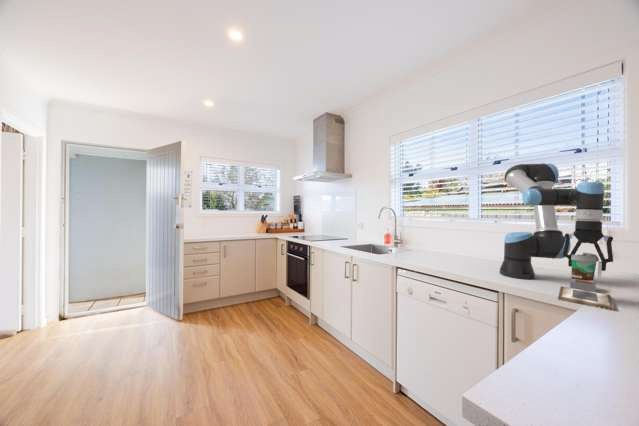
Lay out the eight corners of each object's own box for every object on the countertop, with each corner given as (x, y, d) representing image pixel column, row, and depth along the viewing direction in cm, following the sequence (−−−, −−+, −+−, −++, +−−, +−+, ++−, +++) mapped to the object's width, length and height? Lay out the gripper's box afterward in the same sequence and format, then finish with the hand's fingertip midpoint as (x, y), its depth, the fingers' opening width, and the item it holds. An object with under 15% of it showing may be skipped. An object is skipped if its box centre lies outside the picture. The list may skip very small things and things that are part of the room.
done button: (572, 284, 119) (573, 277, 119) (573, 281, 123) (573, 274, 123) (593, 288, 114) (593, 280, 114) (592, 284, 119) (592, 277, 119)
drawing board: (558, 299, 104) (558, 296, 104) (560, 288, 118) (560, 285, 118) (614, 310, 94) (614, 307, 94) (609, 297, 108) (610, 294, 108)
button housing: (570, 288, 119) (570, 281, 119) (570, 284, 125) (570, 278, 124) (595, 292, 113) (595, 285, 113) (594, 288, 119) (595, 281, 119)
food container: (591, 283, 100) (592, 257, 99) (569, 278, 105) (571, 254, 105) (602, 279, 105) (604, 254, 105) (582, 275, 111) (583, 252, 110)
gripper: (555, 219, 109) (552, 273, 110) (627, 222, 95) (624, 283, 96) (556, 218, 114) (553, 270, 115) (625, 221, 100) (621, 279, 101)
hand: (585, 276), depth 105 cm, fingers closed on food container, 7 cm apart
